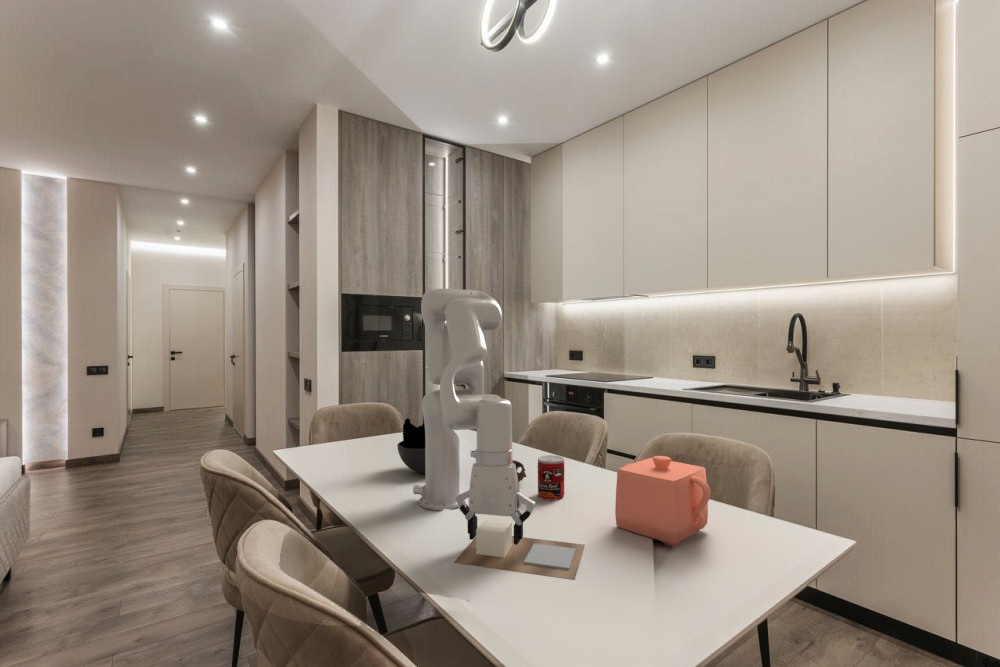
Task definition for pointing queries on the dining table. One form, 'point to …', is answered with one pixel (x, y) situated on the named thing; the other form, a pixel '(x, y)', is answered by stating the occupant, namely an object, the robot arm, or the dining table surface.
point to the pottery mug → (522, 473)
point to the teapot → (662, 499)
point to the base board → (522, 558)
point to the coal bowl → (413, 446)
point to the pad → (550, 556)
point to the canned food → (551, 477)
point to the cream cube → (494, 538)
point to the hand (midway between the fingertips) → (495, 539)
